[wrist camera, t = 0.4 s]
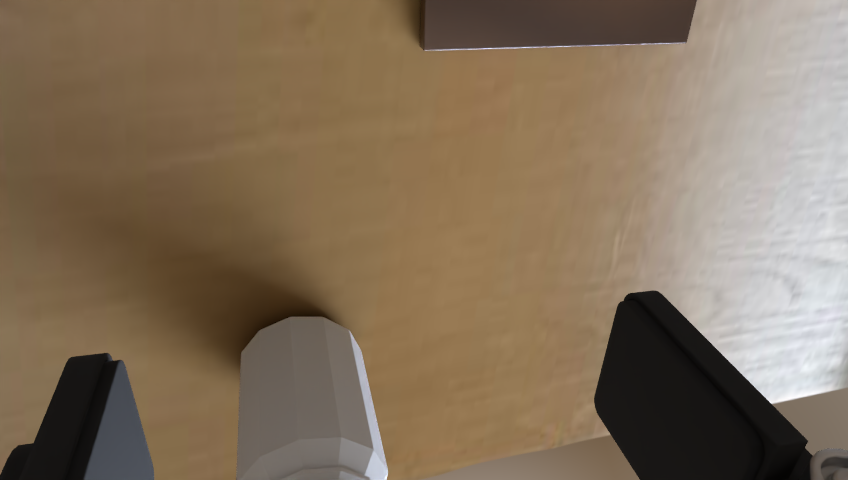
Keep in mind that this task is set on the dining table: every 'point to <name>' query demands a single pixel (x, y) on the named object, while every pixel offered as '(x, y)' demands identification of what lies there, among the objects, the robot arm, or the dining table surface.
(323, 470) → the jar
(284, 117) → the dining table surface
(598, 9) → the board
